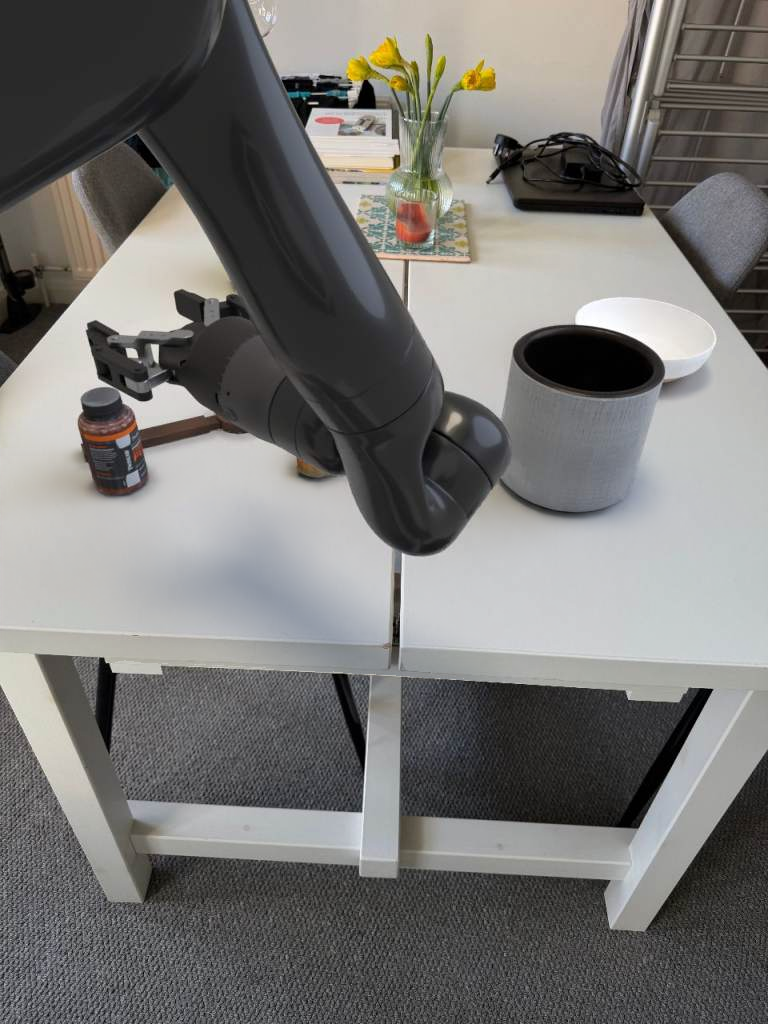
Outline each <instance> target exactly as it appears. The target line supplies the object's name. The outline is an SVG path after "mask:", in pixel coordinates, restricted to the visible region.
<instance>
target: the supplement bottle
mask: <svg viewBox="0 0 768 1024" xmlns="http://www.w3.org/2000/svg"><path fill="white" fill-rule="evenodd" d="M80 405H81V410H82V411H81V412H80V414H79V415H78V418H77V429H78V432H79V437H80V439H81V443H83V446H84V449H85V453H86V456H87V460H88V462H87V463H88V466H89V469H90V473H91V476H92V479H93V480H92V481H93V483H94V485H95V487H96V488H97V489H98V491H100V492H102V493H104V494H107V495H111V496H112V495H114V496H120V495H126V494H129V493H133V492H135V491H137V490H139V489H140V488H142V487H143V486H144V485H145V484H146V482H147V481H148V477H149V471H148V470H149V469H148V465H147V462H146V458H145V457H146V456H145V453H144V452H145V451H144V448H142V444H141V439H140V435H139V430H140V429H139V426H138V422H137V417H136V415H135V413H134V410H133V409H132V408H131V407H130V406H129V405H127V404H125V403H123V399H122V396H121V392H120V391H119V390H118V389H116V388H114V387H112V386H100V387H95V388H91V389H89V390H87V391H85V392H84V393H83V394H82V395H81V396H80Z"/></svg>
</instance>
